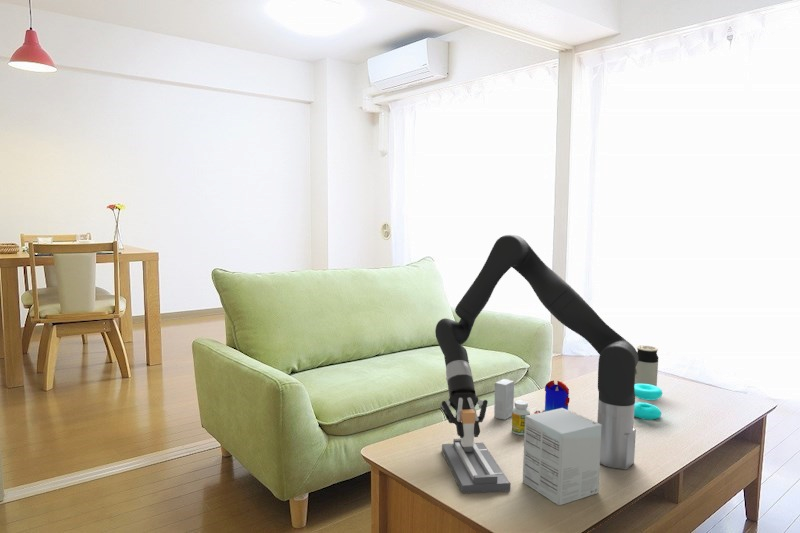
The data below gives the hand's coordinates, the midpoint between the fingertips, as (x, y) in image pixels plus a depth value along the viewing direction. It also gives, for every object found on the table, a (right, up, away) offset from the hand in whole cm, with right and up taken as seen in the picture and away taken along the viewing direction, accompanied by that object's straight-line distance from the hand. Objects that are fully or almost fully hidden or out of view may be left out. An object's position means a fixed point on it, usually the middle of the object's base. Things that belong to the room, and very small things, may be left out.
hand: (469, 436), depth 148 cm
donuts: (+65, -5, +37) cm, 75 cm away
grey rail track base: (0, -7, -4) cm, 9 cm away
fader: (0, -4, +2) cm, 5 cm away
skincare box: (+16, -4, +34) cm, 38 cm away
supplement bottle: (+19, -6, +21) cm, 29 cm away
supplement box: (+21, -9, -13) cm, 26 cm away
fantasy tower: (+34, -4, +37) cm, 50 cm away
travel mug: (+75, -3, +60) cm, 96 cm away
